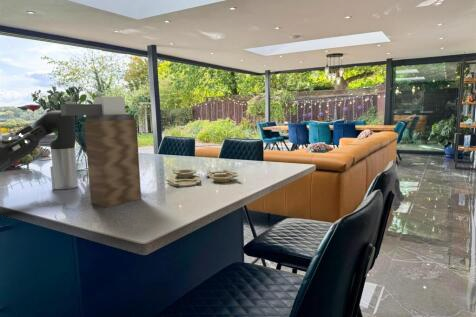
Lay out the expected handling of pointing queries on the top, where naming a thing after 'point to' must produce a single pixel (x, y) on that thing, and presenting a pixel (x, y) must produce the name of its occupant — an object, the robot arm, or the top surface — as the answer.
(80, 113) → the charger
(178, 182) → the tableware set
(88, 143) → the wood-grain topped box
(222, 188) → the top surface
